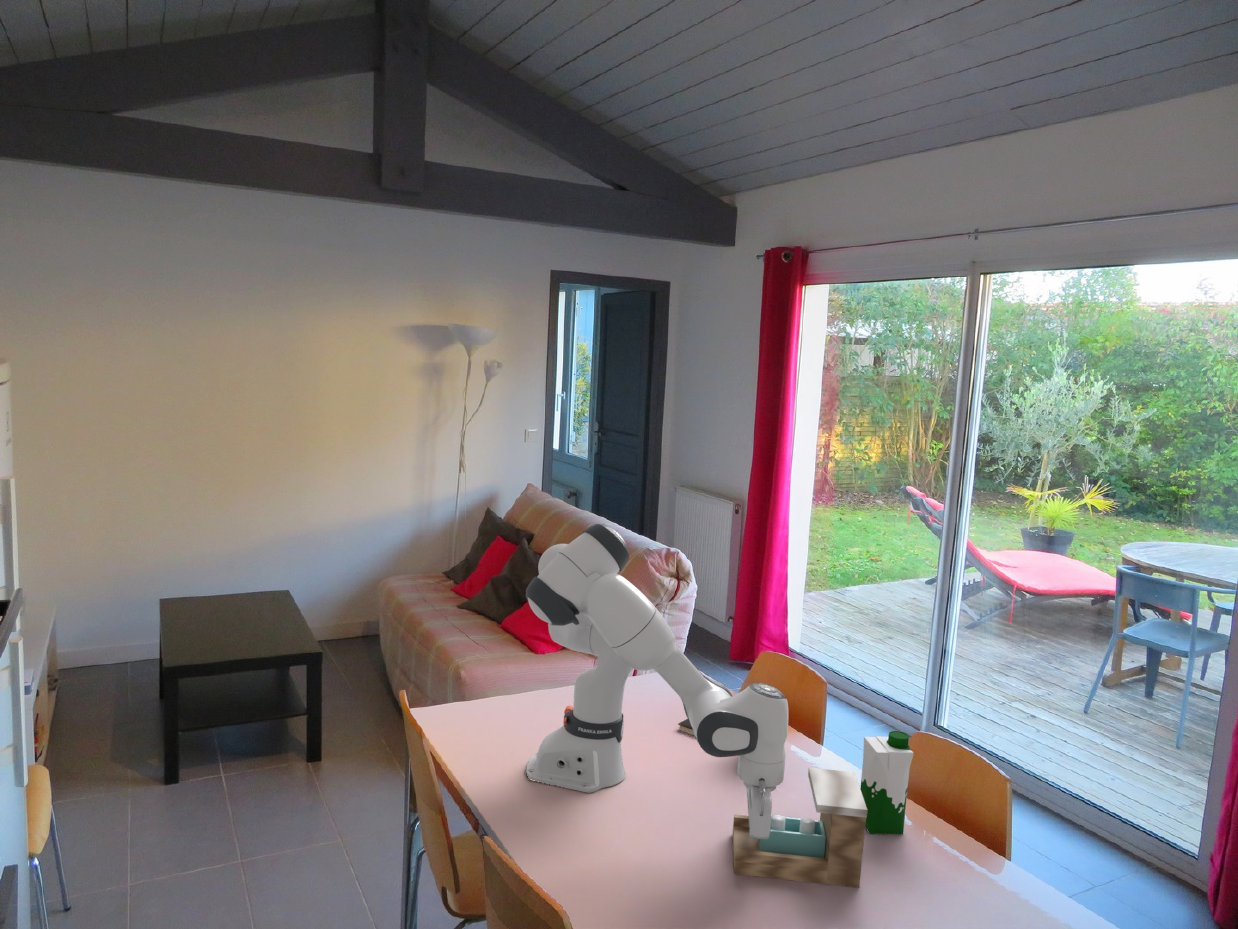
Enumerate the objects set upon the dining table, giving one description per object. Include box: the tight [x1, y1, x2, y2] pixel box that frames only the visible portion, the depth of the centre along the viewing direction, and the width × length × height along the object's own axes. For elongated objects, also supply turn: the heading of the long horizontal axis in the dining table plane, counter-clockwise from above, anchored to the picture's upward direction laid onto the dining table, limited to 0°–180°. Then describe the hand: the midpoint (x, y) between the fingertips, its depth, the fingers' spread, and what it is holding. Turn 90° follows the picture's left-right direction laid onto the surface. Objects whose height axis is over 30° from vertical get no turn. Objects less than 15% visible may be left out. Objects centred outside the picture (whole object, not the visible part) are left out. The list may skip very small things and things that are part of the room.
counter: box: [732, 767, 867, 889], centre depth 172 cm, size 23×15×16 cm, turn 84°
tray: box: [759, 814, 826, 858], centre depth 173 cm, size 12×6×6 cm, turn 84°
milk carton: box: [860, 730, 914, 835], centre depth 187 cm, size 9×9×20 cm
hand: (755, 836), depth 173 cm, fingers closed
